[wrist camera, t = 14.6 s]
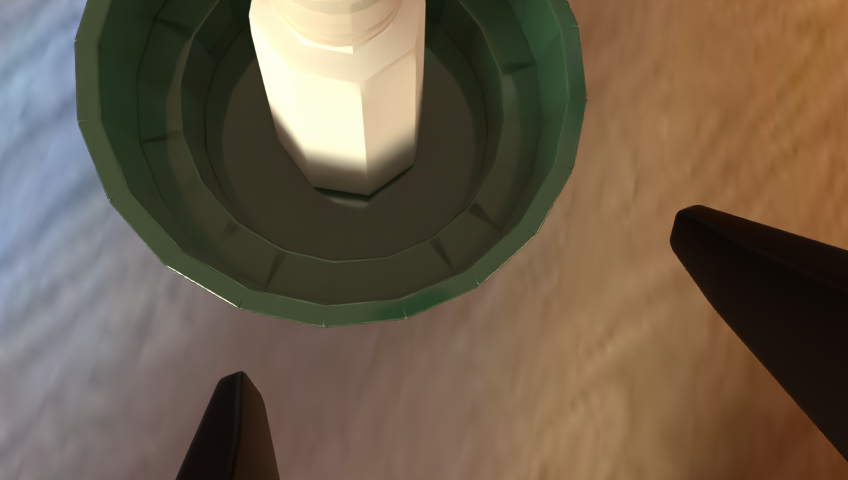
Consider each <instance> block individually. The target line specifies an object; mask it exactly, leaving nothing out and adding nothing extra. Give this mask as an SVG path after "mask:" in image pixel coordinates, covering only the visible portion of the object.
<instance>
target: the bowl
mask: <svg viewBox="0 0 848 480" xmlns="http://www.w3.org/2000/svg"><path fill="white" fill-rule="evenodd" d="M251 1H252V0H87V3H86V7H85V10H84V13H83V16H82V19H81V22H80V25H79V28H78V31H77V34H76V38H75V41H76V42H75V43H74V47H75V74H76V101H77V121H78V123H79V124H78V125H79V128H80V131H81V133H82V136H83V138H84V140H85V143H86V145H87V148H88V150H89V153H90V155H91V158H92V160H93V163H94V165H95V168H96V170H97V173H98V175H99V178H100V180H101V183H102V185H103V188H104V190H105V193H106V195H107V198H108V199H109V200H110V201H109V202H110V203H111V205H112V206H113V207H114V208H115V209H116V210H117V211H118V213H119V214H120V215H121V216H122V217H123V218H124V220H125V221H126V222H127V223H128V224H129V225H130V226H131V228H132V229H133V230H134V231H135V232H136V233H137V234H138V236H139V237H140V238H141V239H142V240H143V241H144V243H145V244H146V245H147V246H148V247H149V248H150V249H151V251H152V252H153V253H154V254H155V255H156V256H157V257H158V259H159V260H160V261H161V262H162V263H163V264H164V265H166V266H167V267H168V268H170V269H171V270H173V271H175V272H176V273H178V274H180V275H181V276H183V277H185V278H187V279H188V280H190V281H192V282H193V283H195V284H197V285H199V286H200V287H202V288H204V289H205V290H207V291H209V292H210V293H212V294H214V295H216V296H217V297H219V298H221V299H222V300H224V301H226V302H227V303H229V304H231V305H233V306H234V307H236V308H240V309H241V310H244V311H248V312H253V313H257V314H262V315H267V316H271V317H276V318H280V319H285V320H290V321H294V322H299V323H303V324H308V325H313V326H317V327H335V326H345V325H355V324H365V323H375V322H386V321H396V320H403V319H405V318H410V317H412V316H415V315H417V314H419V313H422V312H424V311H426V310H428V309H431V308H433V307H435V306H437V305H440V304H442V303H444V302H447V301H449V300H451V299H453V298H456V297H458V296H460V295H462V294H465V293H467V292H469V291H471V290H474V289H476V288H477V287H478V286H481V285H482V284H483V283H484V282H485V281H486V280H488V279H489V278H490V277H491V276H492V275H493V274H494V273H495V272H496V271H497V270H499V269H500V268H501V267H502V266H503V265H504V264H505V263H506V262H507V261H509V260H510V259H511V258H512V257H513V256H514V255H515V254H516V253H517V252H519V251H520V250H521V249H522V248H523V247H524V246H525V245H526V244H527V243H528V242H530V241H531V240H532V239H533V238H534V237H535V235H536V234H537V233H538V231H539V230H540V228H541V226H542V224H543V223H544V221H545V219H546V217H547V215H548V214H549V212H550V210H551V208H552V207H553V205H554V203H555V201H556V200H557V198H558V196H559V194H560V192H561V191H562V189H563V187H564V185H565V184H566V182H567V180H568V178H569V176H570V175H571V173H572V170H573V168H574V163H575V158H576V153H577V148H578V143H579V138H580V133H581V128H582V123H583V117H584V112H585V107H586V102H587V99H586V97H587V94H586V86H585V77H584V69H583V60H582V52H581V43H580V35H579V28H578V27H577V26H578V24H577V22H576V19H575V17H574V15H573V13H572V10H571V8H570V6H569V4H568V1H567V0H425V3H426V5H425V36H424V68H423V100H422V115H421V122H420V128H419V135H418V142H417V148H416V155H415V162H414V164H413V165H412V166H411V167H409V168H408V169H406V170H405V171H403V172H402V173H401V174H399V175H398V176H396V177H395V178H394V179H392V180H391V181H389V182H388V183H387V184H385V185H384V186H382V187H381V188H379V189H378V190H377V191H375V192H374V193H372V194H371V195H370V196H367V195H361V194H354V193H348V192H342V191H336V190H330V189H324V188H318V187H312V186H311V184H310V183H309V182H308V180H307V179H306V177H305V176H304V175H303V173H302V172H301V171H300V169H299V168H298V167H297V165H296V164H295V163H294V161H293V160H292V158H291V157H290V156H289V154H288V153H287V152H286V150H285V149H284V148H283V146H282V145H281V144H280V142H279V141H278V137H277V133H276V129H275V125H274V121H273V117H272V113H271V109H270V105H269V101H268V97H267V93H266V89H265V85H264V81H263V77H262V73H261V69H260V66H259V62H258V58H257V54H256V50H255V46H254V42H253V38H252V33H251V26H250V19H249V12H250V7H251Z"/></svg>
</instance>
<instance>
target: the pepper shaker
mask: <svg viewBox="0 0 848 480" xmlns="http://www.w3.org/2000/svg"><path fill="white" fill-rule="evenodd" d="M425 5H426V3H425V0H252V1H251V7H250V12H249V19H250V26H251V33H252V38H253V42H254V46H255V50H256V54H257V58H258V62H259V66H260V69H261V73H262V77H263V81H264V85H265V89H266V93H267V97H268V101H269V105H270V109H271V113H272V117H273V121H274V125H275V129H276V133H277V137H278V141H279V142H280V144H281V145H282V146H283V148H284V149H285V150H286V152H287V153H288V154H289V156H290V157H291V158H292V160H293V161H294V163H295V164H296V165H297V167H298V168H299V169H300V171H301V172H302V173H303V175H304V176H305V177H306V179H307V180H308V182H309V183H310V184H311V186H312V187H318V188H324V189H330V190H336V191H342V192H348V193H354V194H361V195H367V196H370V195H371V194H372V193H374V192H375V191H377V190H378V189H379V188H381V187H382V186H384V185H385V184H387V183H388V182H389V181H391V180H392V179H394V178H395V177H396V176H398V175H399V174H401V173H402V172H403V171H405V170H406V169H408V168H409V167H411V166H412V165H413V164H414V162H415V155H416V148H417V142H418V135H419V128H420V122H421V115H422V100H423V68H424V36H425Z"/></svg>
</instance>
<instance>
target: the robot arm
mask: <svg viewBox="0 0 848 480" xmlns="http://www.w3.org/2000/svg"><path fill="white" fill-rule="evenodd" d="M670 245H671V248H672V250H673V252H674V253H675V254H676V256H677V257H678V259H679V260H680V262H681V263H682V264H683V266H684V267H685V269H686V270H687V271H688V273H689V274H690V276H691V277H692V279H693V280H694V281H695V283H696V284H697V286H698V287H699V289H700V290H701V291H702V293H703V294H704V296H705V297H706V298H707V300H708V301H709V302H710V304H711V305H712V306H713V308H714V309H715V310H716V311H717V313H718V314H719V315H720V316H721V317H722V319H723V320H724V321H725V322H726V323H727V324H728V325H729V327H730V328H731V329H732V330H733V331H734V332H735V333H736V335H737V336H738V337H739V338H740V339H741V340H742V342H743V343H744V344H745V345H746V346H747V347H748V348H749V350H750V351H751V352H752V353H753V354H754V355H755V356H756V358H757V359H758V360H759V361H760V362H761V363H762V364H763V366H764V367H765V368H766V369H767V370H768V371H769V372H770V374H771V375H772V376H773V377H774V378H775V379H776V380H777V382H778V383H779V384H780V385H781V386H782V387H783V388H784V390H785V391H786V392H787V393H788V394H789V395H790V397H791V398H792V399H793V400H794V401H795V402H796V403H797V405H798V406H799V407H800V408H801V409H802V410H803V411H804V413H805V414H806V415H807V416H808V417H809V418H810V419H811V421H812V422H813V423H814V424H815V425H816V426H817V427H818V429H819V430H820V431H821V432H822V433H823V434H824V435H825V437H826V438H827V439H828V440H829V441H830V442H831V443H832V445H833V446H834V447H835V448H836V449H837V450H838V451H839V453H840V454H841V455H842V456H843V457H844V458H845V460H846V461H847V462H848V250H844V249H841V248H838V247H835V246H832V245H828V244H825V243H822V242H819V241H815V240H812V239H809V238H806V237H802V236H799V235H796V234H793V233H789V232H786V231H783V230H780V229H777V228H773V227H770V226H767V225H764V224H760V223H757V222H754V221H751V220H747V219H744V218H741V217H738V216H734V215H731V214H728V213H725V212H721V211H718V210H715V209H712V208H709V207H705V206H702V205H693V206H690V207H687V208H685V209H682V210H680V211H678V213H677V214H676V216H675V220H674V224H673V228H672V232H671V237H670ZM175 480H280V478H279V472H278V467H277V462H276V457H275V453H274V448H273V443H272V438H271V433H270V429H269V424H268V419H267V414H266V409H265V405H264V401H263V398H262V396H261V394H260V392H259V391H258V390H257V388H256V387H255V385H254V384H253V383H252V381H251V380H250V379H249V377H248V376H247V374H246V373H244V372H242V371H240V372H236V373H233V374H231V375H228V376H225V377H223V378H221V379H220V380H219V382H218V383H217V386H216V388H215V390H214V392H213V395H212V397H211V399H210V402H209V404H208V406H207V408H206V411H205V413H204V415H203V418H202V420H201V422H200V424H199V427H198V429H197V431H196V434H195V436H194V438H193V440H192V443H191V445H190V447H189V449H188V452H187V454H186V456H185V459H184V461H183V463H182V465H181V468H180V470H179V472H178V475H177V477H176V479H175Z"/></svg>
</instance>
